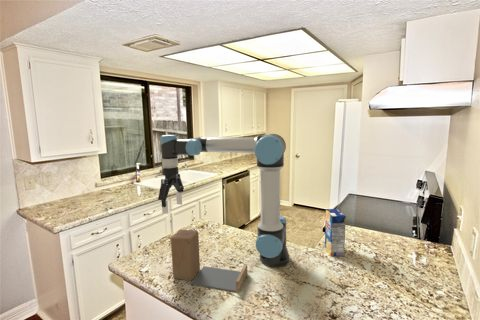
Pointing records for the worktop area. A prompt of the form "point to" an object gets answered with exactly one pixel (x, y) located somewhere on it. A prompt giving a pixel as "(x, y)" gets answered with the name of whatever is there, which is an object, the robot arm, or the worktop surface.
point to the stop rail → (241, 278)
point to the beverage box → (335, 232)
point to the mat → (216, 278)
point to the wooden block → (185, 254)
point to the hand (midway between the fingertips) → (172, 208)
